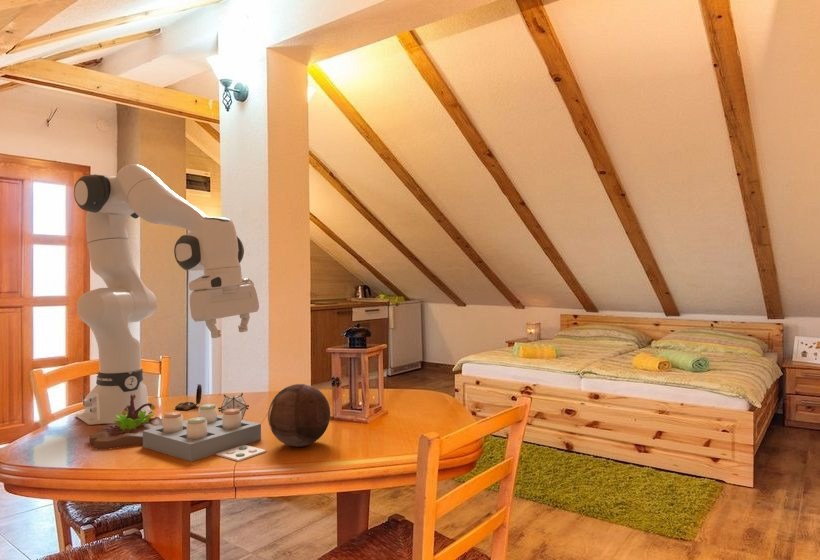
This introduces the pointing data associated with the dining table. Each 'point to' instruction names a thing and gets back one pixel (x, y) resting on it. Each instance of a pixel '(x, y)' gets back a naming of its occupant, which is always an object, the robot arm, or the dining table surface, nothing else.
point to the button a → (172, 422)
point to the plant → (125, 428)
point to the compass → (190, 404)
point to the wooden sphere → (299, 415)
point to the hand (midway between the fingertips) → (230, 334)
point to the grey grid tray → (201, 440)
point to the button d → (231, 419)
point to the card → (241, 452)
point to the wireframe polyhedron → (234, 404)
